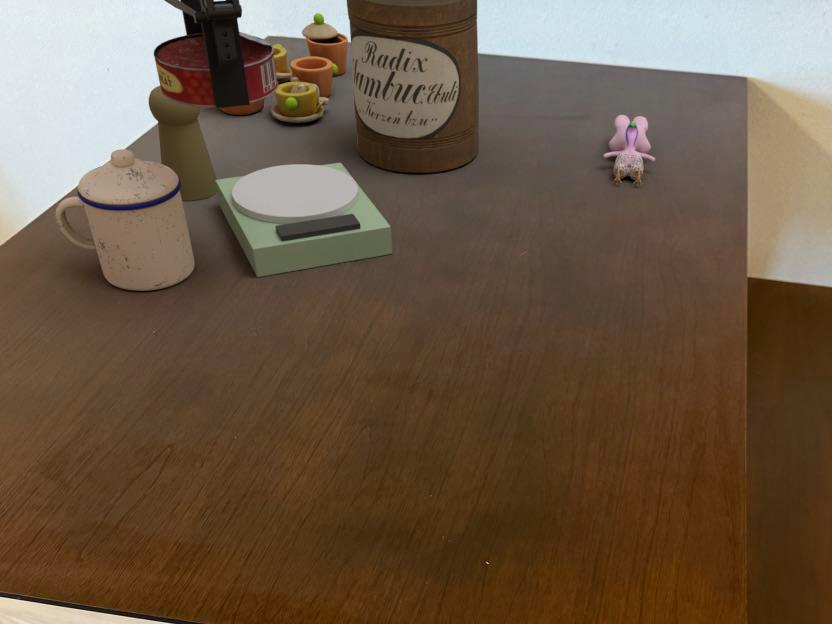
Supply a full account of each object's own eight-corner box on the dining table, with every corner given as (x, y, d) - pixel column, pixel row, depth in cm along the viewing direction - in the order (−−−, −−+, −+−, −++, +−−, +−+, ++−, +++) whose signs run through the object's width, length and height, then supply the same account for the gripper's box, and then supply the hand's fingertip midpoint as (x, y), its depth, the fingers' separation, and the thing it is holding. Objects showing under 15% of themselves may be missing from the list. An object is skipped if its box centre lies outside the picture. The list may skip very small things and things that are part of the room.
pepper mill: (194, 173, 112) (175, 73, 104) (230, 187, 109) (213, 86, 102) (152, 190, 108) (128, 87, 101) (188, 205, 106) (167, 101, 98)
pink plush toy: (652, 198, 115) (654, 131, 124) (659, 152, 110) (660, 85, 119) (599, 194, 115) (605, 127, 124) (604, 148, 110) (610, 82, 119)
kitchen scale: (220, 206, 106) (213, 172, 103) (343, 188, 110) (340, 155, 108) (257, 277, 95) (251, 241, 92) (392, 254, 99) (390, 218, 97)
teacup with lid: (205, 249, 99) (182, 134, 91) (187, 294, 92) (161, 174, 84) (85, 248, 98) (52, 131, 90) (59, 293, 91) (19, 171, 83)
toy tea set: (318, 131, 122) (310, 50, 116) (199, 122, 123) (184, 40, 116) (364, 65, 141) (359, -8, 135) (260, 57, 142) (250, -16, 135)
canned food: (185, 128, 88) (166, 7, 86) (294, 118, 88) (278, -3, 85) (139, 108, 77) (115, -31, 75) (263, 96, 77) (243, -43, 75)
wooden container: (338, 163, 115) (319, -47, 100) (385, 120, 126) (374, -76, 111) (455, 182, 113) (453, -31, 98) (493, 137, 123) (497, -62, 108)
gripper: (253, -229, 62) (295, 125, 77) (190, -262, 77) (235, 40, 92) (131, -229, 59) (199, 136, 75) (91, -263, 74) (154, 47, 90)
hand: (219, 83), depth 83 cm, fingers closed on canned food, 10 cm apart
